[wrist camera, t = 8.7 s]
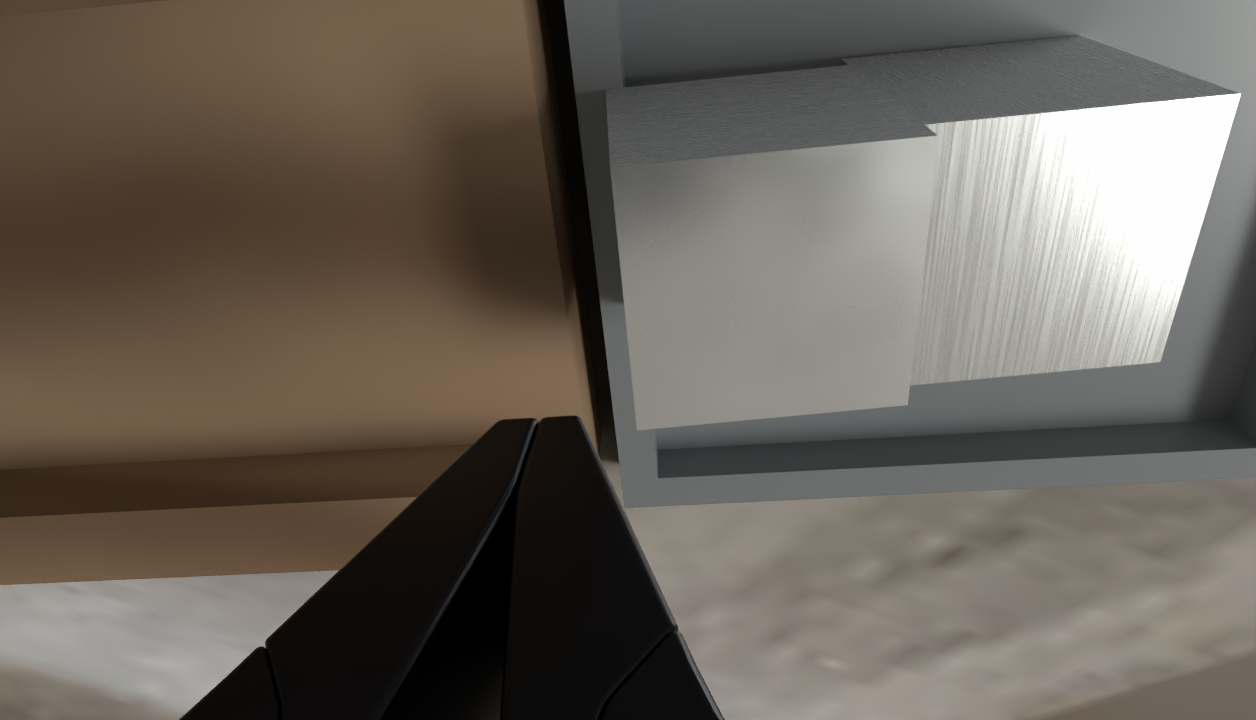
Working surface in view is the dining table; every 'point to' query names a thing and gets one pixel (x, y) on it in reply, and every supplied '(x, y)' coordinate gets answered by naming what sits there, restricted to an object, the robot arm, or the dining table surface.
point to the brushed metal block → (768, 244)
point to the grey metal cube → (1054, 201)
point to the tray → (960, 410)
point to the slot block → (269, 273)
